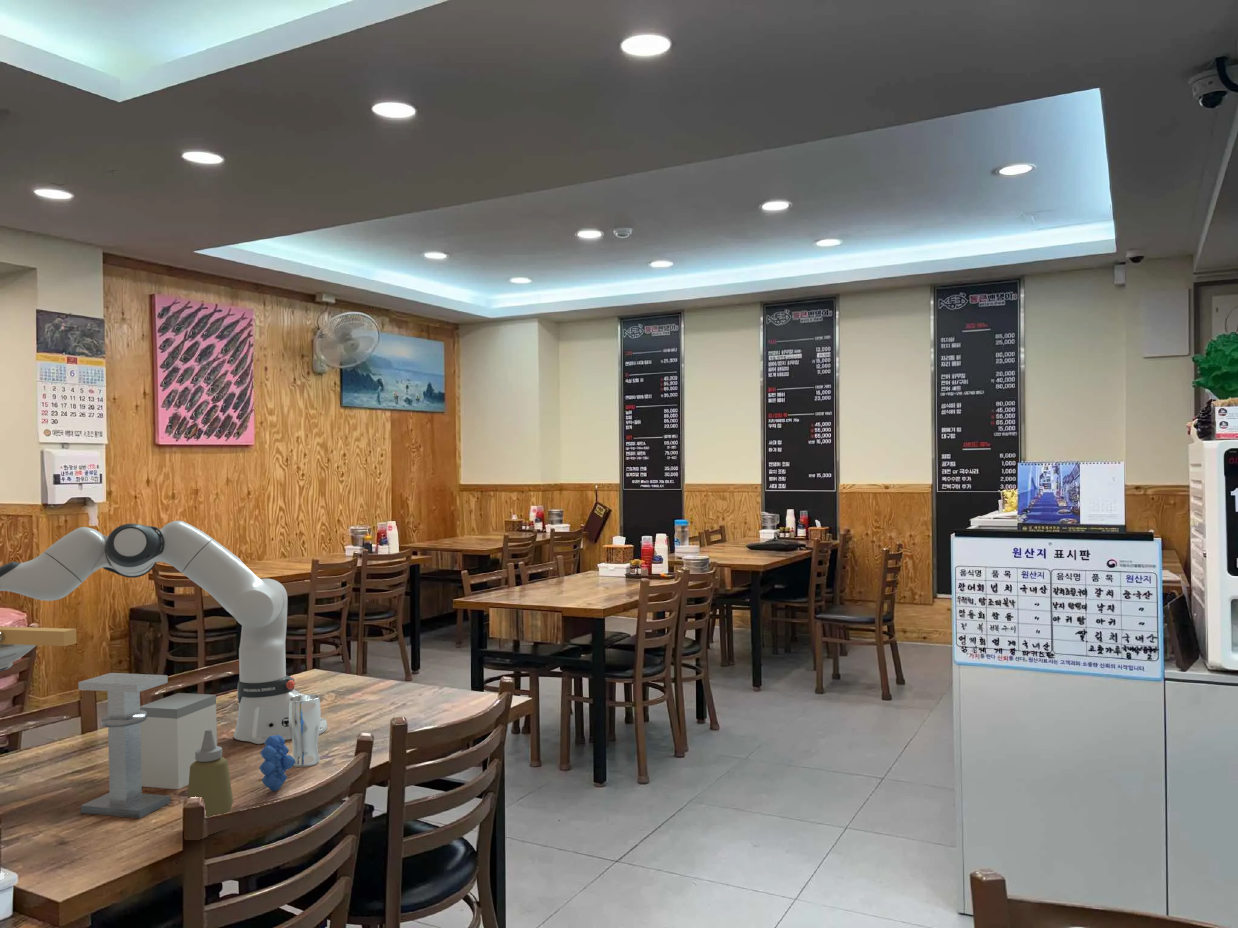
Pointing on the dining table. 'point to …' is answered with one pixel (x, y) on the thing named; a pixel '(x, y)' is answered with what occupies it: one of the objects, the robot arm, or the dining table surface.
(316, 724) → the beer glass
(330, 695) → the dining table surface
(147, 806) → the post
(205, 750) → the squeeze bottle
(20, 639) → the bracket bar
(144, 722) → the white lidded box
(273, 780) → the grapes
